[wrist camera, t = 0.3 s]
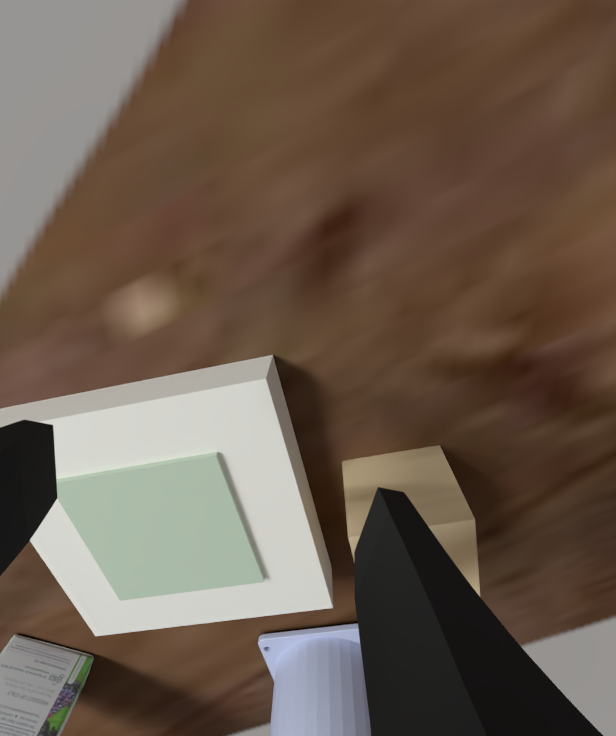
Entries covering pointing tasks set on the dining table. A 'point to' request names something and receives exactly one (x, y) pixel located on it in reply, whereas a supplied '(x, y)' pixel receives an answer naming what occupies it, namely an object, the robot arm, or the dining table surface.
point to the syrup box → (39, 686)
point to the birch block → (416, 500)
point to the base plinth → (181, 501)
